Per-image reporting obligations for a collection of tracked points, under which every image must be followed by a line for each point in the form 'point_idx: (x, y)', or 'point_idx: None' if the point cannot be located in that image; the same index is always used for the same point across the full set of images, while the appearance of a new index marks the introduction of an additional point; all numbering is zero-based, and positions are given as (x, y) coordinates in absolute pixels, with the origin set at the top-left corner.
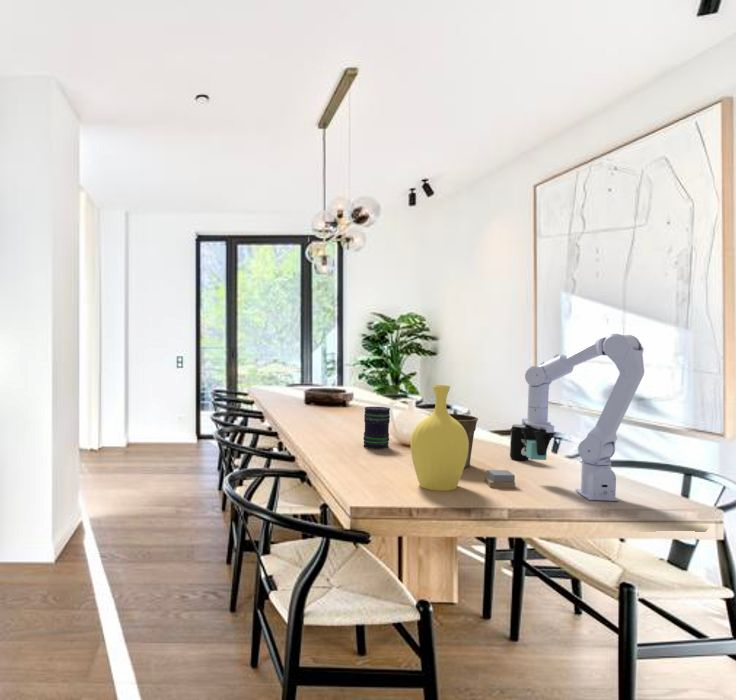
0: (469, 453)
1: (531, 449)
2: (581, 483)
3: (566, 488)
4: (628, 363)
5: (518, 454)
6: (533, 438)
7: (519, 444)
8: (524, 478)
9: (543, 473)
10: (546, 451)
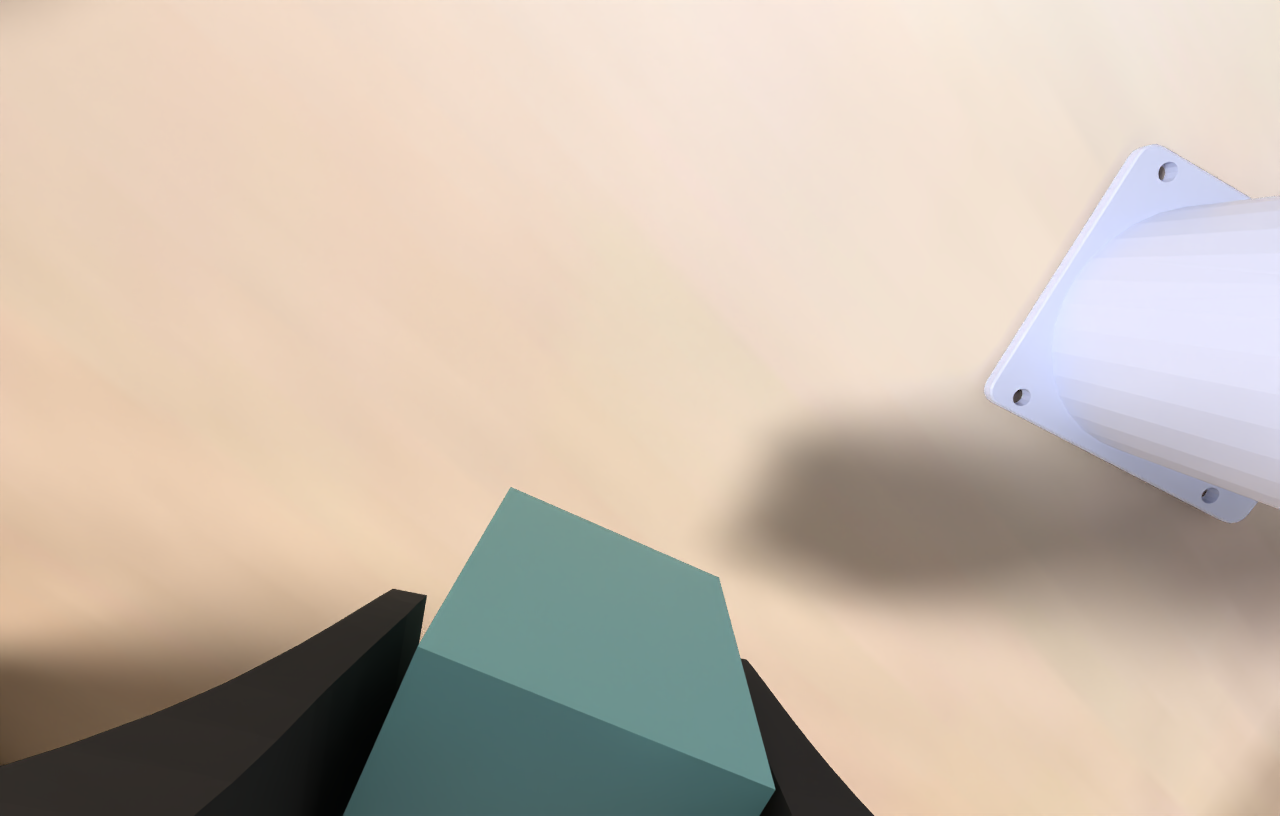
0: None
1: None
2: (1151, 455)
3: (881, 398)
4: None
5: None
6: (283, 804)
7: None
8: (462, 507)
9: (323, 148)
10: (738, 657)
